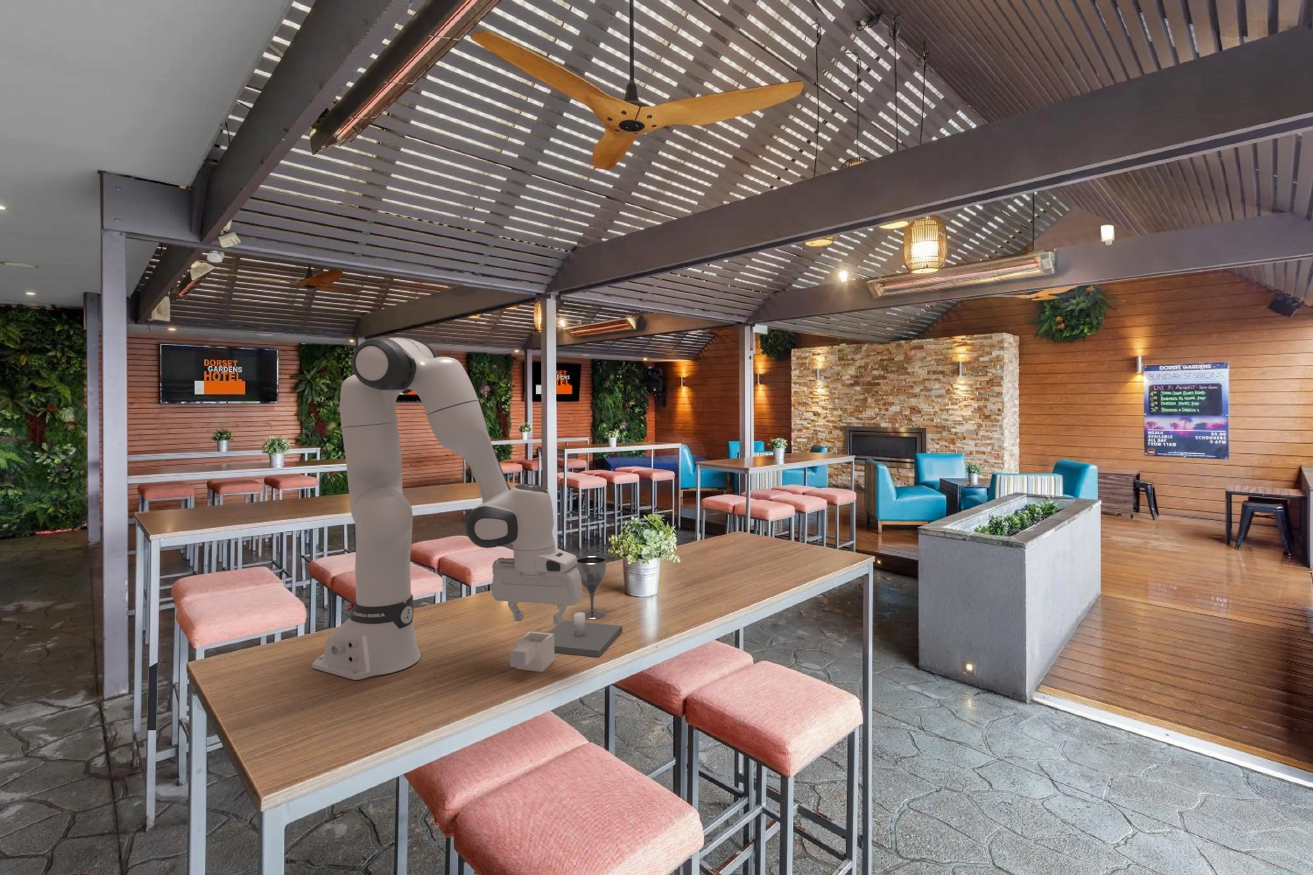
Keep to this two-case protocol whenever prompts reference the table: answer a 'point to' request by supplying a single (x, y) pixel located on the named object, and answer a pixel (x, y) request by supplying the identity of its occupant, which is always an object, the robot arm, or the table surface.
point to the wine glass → (592, 580)
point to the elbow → (533, 652)
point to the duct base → (583, 636)
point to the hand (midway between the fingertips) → (538, 621)
